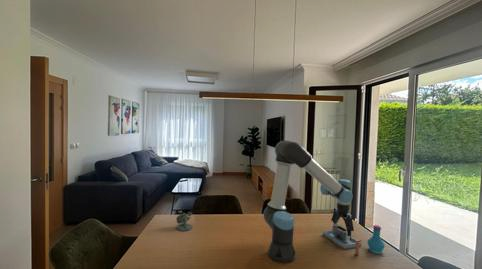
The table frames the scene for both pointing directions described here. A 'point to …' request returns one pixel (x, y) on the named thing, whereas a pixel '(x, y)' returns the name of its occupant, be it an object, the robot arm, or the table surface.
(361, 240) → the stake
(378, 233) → the perfume bottle
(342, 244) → the tray
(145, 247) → the table surface
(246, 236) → the table surface
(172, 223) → the table surface
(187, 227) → the figurine
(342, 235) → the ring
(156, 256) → the table surface
